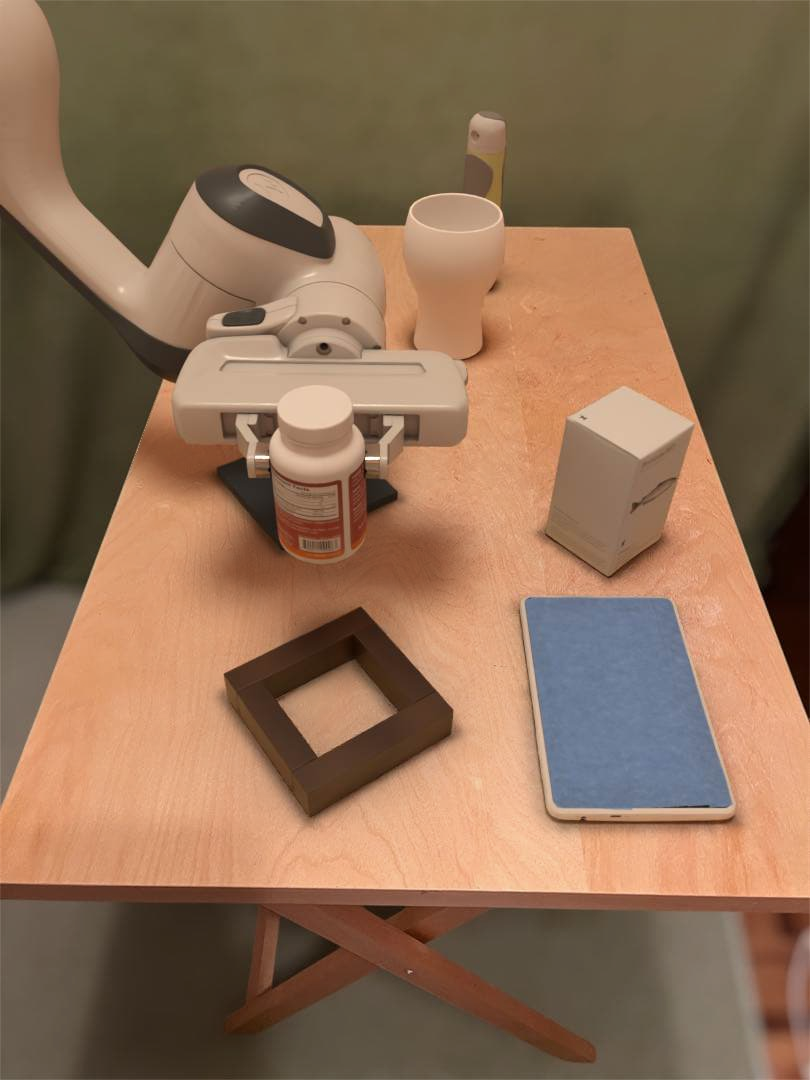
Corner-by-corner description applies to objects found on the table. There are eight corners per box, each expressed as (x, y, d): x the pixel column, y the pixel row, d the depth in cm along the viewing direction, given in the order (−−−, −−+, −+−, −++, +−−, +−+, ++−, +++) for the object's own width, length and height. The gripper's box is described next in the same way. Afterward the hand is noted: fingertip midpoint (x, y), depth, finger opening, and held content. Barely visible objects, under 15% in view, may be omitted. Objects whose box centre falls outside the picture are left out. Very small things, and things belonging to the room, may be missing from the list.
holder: (309, 817, 59) (307, 794, 57) (227, 697, 66) (223, 673, 64) (451, 733, 64) (453, 709, 62) (361, 629, 71) (361, 605, 69)
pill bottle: (332, 495, 67) (327, 366, 59) (385, 541, 63) (386, 410, 56) (260, 531, 64) (245, 400, 56) (311, 581, 61) (302, 448, 53)
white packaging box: (608, 580, 76) (639, 460, 67) (542, 533, 80) (563, 414, 71) (663, 541, 79) (698, 422, 71) (597, 498, 83) (623, 380, 75)
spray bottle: (447, 283, 112) (457, 112, 99) (474, 271, 115) (488, 103, 101) (475, 298, 110) (489, 125, 96) (503, 285, 112) (520, 115, 98)
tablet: (737, 823, 60) (742, 812, 59) (545, 823, 59) (548, 812, 58) (671, 605, 74) (674, 594, 73) (516, 604, 73) (517, 592, 73)
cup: (410, 313, 107) (414, 185, 96) (501, 324, 105) (514, 196, 95) (391, 361, 99) (393, 228, 89) (488, 374, 98) (501, 240, 87)
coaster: (281, 550, 77) (280, 542, 77) (217, 475, 84) (216, 467, 84) (397, 499, 82) (398, 491, 82) (328, 432, 89) (327, 424, 89)
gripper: (462, 391, 71) (474, 509, 61) (198, 388, 70) (166, 506, 60) (468, 318, 67) (482, 433, 57) (186, 315, 66) (150, 429, 56)
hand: (316, 470), depth 58 cm, fingers closed on pill bottle, 6 cm apart
